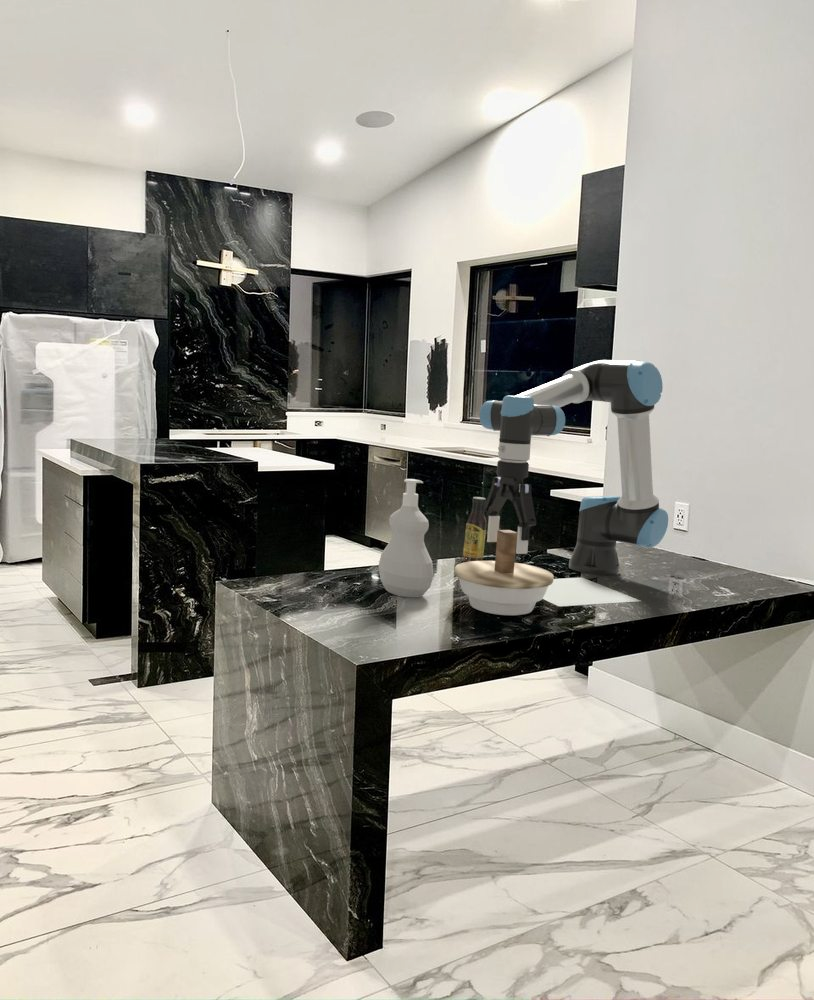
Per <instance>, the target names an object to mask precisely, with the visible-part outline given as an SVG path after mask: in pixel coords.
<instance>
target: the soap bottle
mask: <svg viewBox="0 0 814 1000" xmlns="http://www.w3.org/2000/svg"><path fill="white" fill-rule="evenodd" d="M403 481H404V483H406V489H405V490H406V491H405V492H403V493H402V504H401V507H400V508H399V509H397V510H396V511H394V512H392V514H391V515H390V516H389V519H388V523H389V526H390V529H391V538H390V540H389V542H388V544H387V545H386V546H385V548H384V549H383V551H381V554H380V557H379V558H380V559H379V562H378V573H379V577H380V578H379V579H380V582H381V583H382V585H383V587H384V589H385V590H386V591H387V592H388V593H390V594H392V595H394V596H397V597H401V598H417V597H418V598H419V597H423V596H424V595H425V594H426V593H427V592H428V590H429V589H431V586H432V582H433V579H434V575H435V574H434V573H435V572H434V566H433V565H434V564H433V560H432V558H431V556H430V554H429V552H428V549H427V547H426V544H425V535H426V534H427V532H428V531H429V527H430V525H429V524H430V523H429V519H428V518H427V517H426V516H425V514H423V513H422V511H421V510H420V508H419V494H418V493H416V492H417V491H416V490H417V489H416V487H417V484H424V481H422V480H420V479H415V478H405V479H404V480H403Z"/></svg>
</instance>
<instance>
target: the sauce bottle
mask: <svg viewBox="0 0 814 1000" xmlns="http://www.w3.org/2000/svg"><path fill="white" fill-rule="evenodd" d="M486 501H487V498H485V497H481V496H473V497H472V501H471V502H472V507H471V512H470V513H469V516H468V519H467V521H466V523H465V524H466V525H465V532H464V538H463V539H464V541H463V548H462V549H463V551H462V560H463V561H464V562H470V561H483V558H484V550H485V543H486V542H485V541H486V533H487V525H488V523H487V522H488V520H487V517H486V515H485V511H484V506H485V504H486ZM463 558H467V559H463Z"/></svg>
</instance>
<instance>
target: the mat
mask: <svg viewBox="0 0 814 1000" xmlns="http://www.w3.org/2000/svg"><path fill="white" fill-rule="evenodd" d="M542 600H544V601H546V602H548V603H550V604H552V605H555V606H557V607H561V608H562V607H572V606H573V607H574V606H575V607H576V606H589V605H591V606H592V605H603V604H604V605H606V604H607V605H608V604H620V603H635V602H636V603H637V602H641V600H640V599H637V598H635V597H632V596H629V595H628V594H625V593H623V592H620V591H617V590H614V589H613V588H610V587H607V586H606V585H602V584H599V583H597V582H594V581H591V580H589V579H586V578H585V577H566V578H554V579H553V583H552V584H551V585H549V586H548V588H547V591H546V593H545V595H544V597H543V599H542Z"/></svg>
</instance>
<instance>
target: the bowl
mask: <svg viewBox="0 0 814 1000" xmlns="http://www.w3.org/2000/svg"><path fill="white" fill-rule="evenodd" d="M458 580H459V585H460V589H461V591H462V593H464V594H465V595H466V596H467V597H468V598H467V599H468V601H469V604H470V606H471V607H472V608H473V609H475V610H478V611H481V612H483V613H488V614H493V615H499V616H521V615H527V614H530V613H531V612H532V611H533V610H534V608H535V606H536V604H537V602H540V601H542V600H544V599H543V597H544V595H545V593H546V591H547V588H548V586H546V587H541V588H532V589H510V588H499V587H491V586H485V585H480V584H475V583H472V582H468V581H465V580H463V579H461V578H459V577H458Z"/></svg>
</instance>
